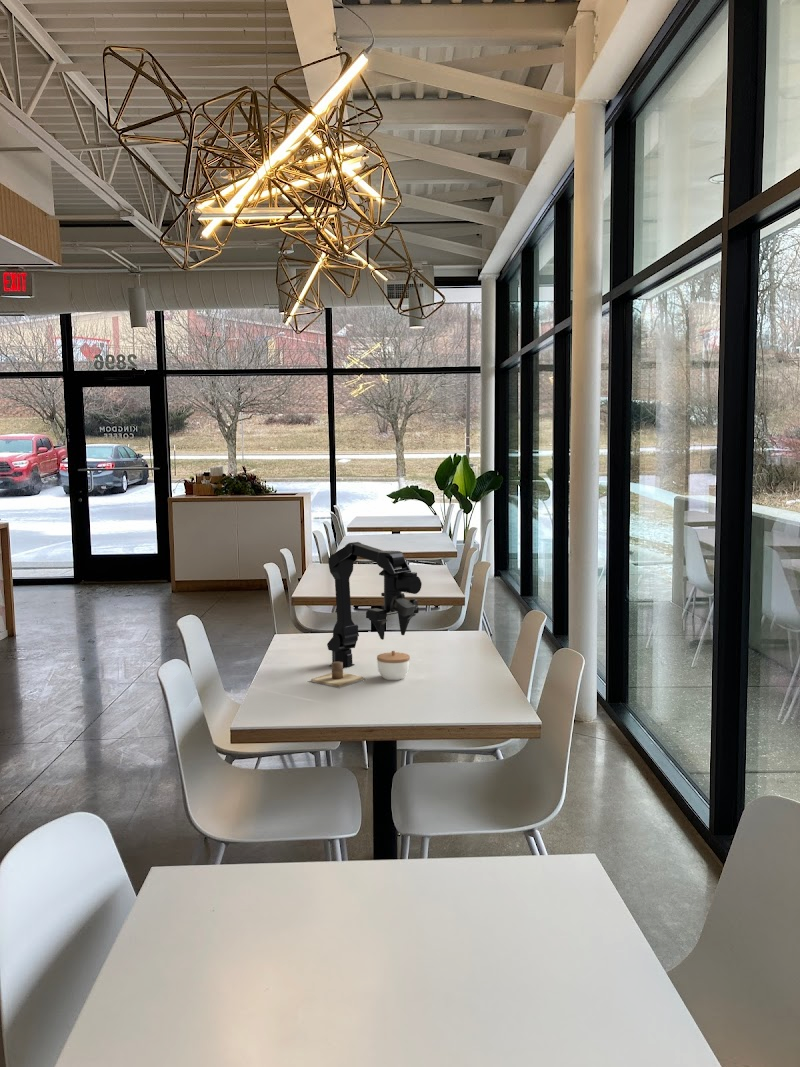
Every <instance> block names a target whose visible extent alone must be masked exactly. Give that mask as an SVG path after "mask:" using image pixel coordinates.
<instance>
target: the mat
mask: <svg viewBox="0 0 800 1067" xmlns="http://www.w3.org/2000/svg"><path fill="white" fill-rule="evenodd" d="M366 679H367V678H366V677H365V678H364V679H363V680H364V681H366ZM363 680H359V681H356V682H353V683H350V684H347V685H344V686H341V687H336V686H331V685H326V684H321V683H317V682H312V681H311V680H308V681H307V683H312V684H315V685H322V686H325V687H331V688H335V689H342V688H346V687H349V686H352V685H356V684H357V683H360V682H364V681H363Z"/></svg>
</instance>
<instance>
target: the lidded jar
mask: <svg viewBox="0 0 800 1067" xmlns="http://www.w3.org/2000/svg"><path fill="white" fill-rule="evenodd" d="M410 657H411V656H410V654H408V653H405V652H396V650H391V652H384V653H380V654H378V655H377V656H376V660H377V661H376V662H377V670H378V672H379V675H380V676H381V677H382V678H383V679H384V680H386V681H399V680H400V679H401V680H403V679H404V678H405V677H406V676H407V674H408V672H409V670H410V669H409V668H410V660H411V659H410ZM401 680H400V681H401Z"/></svg>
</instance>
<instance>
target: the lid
mask: <svg viewBox="0 0 800 1067" xmlns="http://www.w3.org/2000/svg"><path fill="white" fill-rule="evenodd" d="M331 665H332V667H331V672H329V673H326V674H323V675H319V676H316V677H314V678H311V680H310V681H312V682H317V683H321V684H326V685H331V686H336V687H341V686H344V685H347V684H350V683H353V682H356V681H359V680H363V679H364V676H362V675H357V674H351V673H347V672H344V669H343V662H331Z"/></svg>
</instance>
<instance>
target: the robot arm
mask: <svg viewBox="0 0 800 1067" xmlns="http://www.w3.org/2000/svg"><path fill="white" fill-rule="evenodd" d="M359 558H362V559H366V560H368V561H371V562H374V563H375V564H377V566H378V567H380V568H381V569H382V570H381V571H379V574H378V575H379V576H382V577H383V592H381V594H380V595H381V597H383V605H382V604H381V608H377V607H374V608H369V609H367V610H366V612H365V618H366V619H368V621H371V623H372V624H373V626H374V628H375V629H376V632H377V634H378V636H379V639H380V640H384V639H385V626H386V625H385V624H386V623H387V622H388V619H386V618H387V617H388V616H389V615H390V616H391V615H395V614H397V616H398V623H399V631H400V635H401V636H405V634H406V632H407V628H408V626H409V623H410V620H412V618H414V617H416V616H417V614H419V611H420V610H419V605H418V604H419V603H418V600H417V599H416V598H411V599H406V597H405V596H406V595H405V593H406V594H412V595H413V594H414V595H417V594H418V593H419V592H420V591H421V589H422V580H421V578H420V577H419V576H418V573H417V572H416V571H414V572H412V570H411V567H410V565H409V564H408V562H407V560H406V557H405V556H404V553H403V552H402V551H399V550H383V549H379V548H377V547H373V546H370V545H367V544H364V543H362V542H359V541H353V542H349V543H346V545H344V547H342V548H340V549H339V550H337V551H335V553H332V554H330V556H329V557H328V561H327V562H328V568H329V572H330V575H332V577H333V579H334V584H335V585H334V586H335V589H334V590H335V602H336V603H335V606H336V623H335V625H334V627H333V631H332V637H331V639H330V640H329V641H328V642H327V644H326V646H327V650H328V651H331V656H332V657H331V659H332V660H331V661H332V662H343V670H344V669H347V668H350V667H353V666H355V663H353V653H352V649H355V648H356V645H357V642H358V639H359V637H360V634H359V626H358V624H355V623H354V621H353V619H352V608H351V607H352V604H351V602H352V601H351V586H350V585H351V584H350V579H351V576H352V573H353V571H354V564H355V562H356V561H358V560H359ZM332 662H331V663H332ZM329 667H331V668H332V664H330V665H329Z"/></svg>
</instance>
